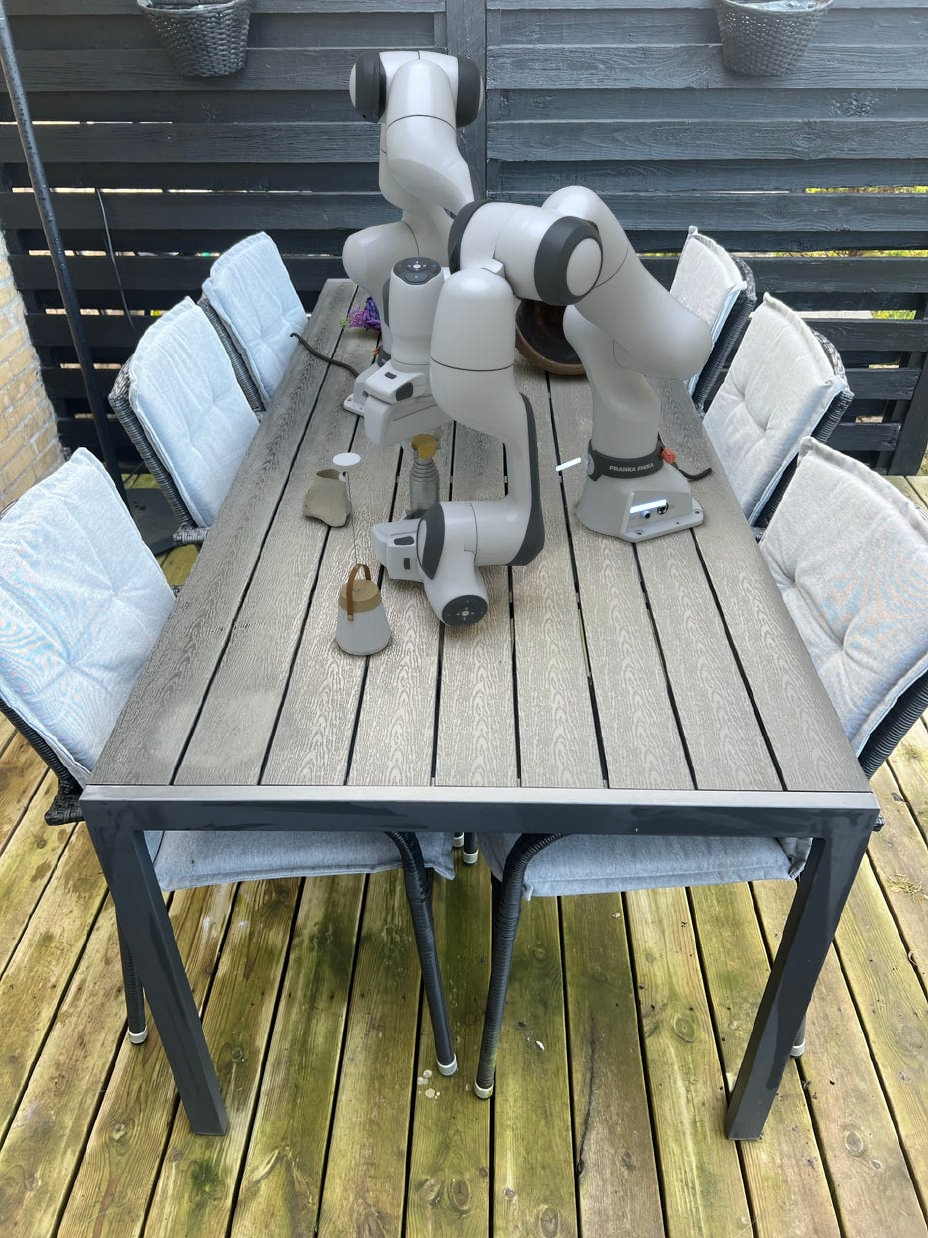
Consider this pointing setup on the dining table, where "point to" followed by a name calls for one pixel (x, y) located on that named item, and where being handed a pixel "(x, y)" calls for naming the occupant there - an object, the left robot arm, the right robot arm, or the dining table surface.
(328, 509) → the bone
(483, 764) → the dining table surface
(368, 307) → the decorative ornament
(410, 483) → the bottle
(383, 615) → the pendant light
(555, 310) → the pot
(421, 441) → the cap
